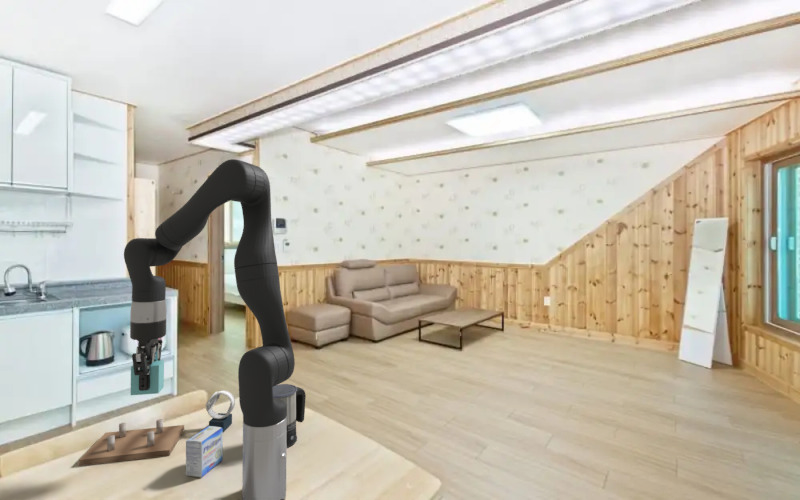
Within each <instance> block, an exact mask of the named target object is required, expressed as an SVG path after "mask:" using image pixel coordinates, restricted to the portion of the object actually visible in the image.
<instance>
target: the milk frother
mask: <svg viewBox="0 0 800 500" xmlns="http://www.w3.org/2000/svg"><path fill="white" fill-rule="evenodd" d="M273 398H279V399H281V400H283V401H285V403H286V405H287V439H286V443H287V449H288V448H290V447H292V446H293V445H295V444H296V442H297V441H298V436H297V422H298V423H303V422H304V421H305V412H306V411H305V409H306V398H307V397H306V391H305V390H304V388H301V387H298V386H296V385H293V384H288V383H283V384H282V383H280V384H278V385H276V386H274V387H273Z"/></svg>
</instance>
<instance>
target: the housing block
mask: <svg viewBox="0 0 800 500" xmlns="http://www.w3.org/2000/svg"><path fill="white" fill-rule="evenodd" d="M147 362H149V361H147ZM142 370H143V368H142ZM164 378H165V360H164V359H163V360H162V359H160V361H154V363H153V364H152V365H151V373H150V388H149V389H148V390H143V391H140V390H139V376H138V375H136V376H135V374H134V367H133V365H131V366H130V396H140V395H141V396H143V395H153V394H154V395H155V394H160V392H161V391H162V390H163V389H164V386H165V379H164Z"/></svg>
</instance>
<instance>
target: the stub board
mask: <svg viewBox="0 0 800 500" xmlns="http://www.w3.org/2000/svg"><path fill="white" fill-rule="evenodd" d="M155 422H156V423H155V427H151V428H149V427H148V428H141V429H139V428H138V429H129V430H127V422H121V423H119V424H118V431H109V432H108V431H107V432H104V434H103V435H102V436H101V437H100V438H99V439H97V441H96V442H95V443H94V444H93V445H92V446H91V447H89V449H88V450H87V451H86V452H85V453H84V454H83V455H82V456H81V457H80V458H79V459H78V466H79V467H81V466H83V467H84V466H89V465H90V466H91V465H98V464H109V463H115V462H116V463H117V462H124V461H134V460H141V459H150V458H160V457H170V456H171V453H173V451H174V449H175V447H176V445H177V443H178V441H179V440H180V438H181V437H182V434H183V433H184V431H185V424H180V425H170V426H164V419H162V418H159V419H157V420H156V421H155Z"/></svg>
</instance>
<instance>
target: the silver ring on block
mask: <svg viewBox="0 0 800 500" xmlns="http://www.w3.org/2000/svg"><path fill="white" fill-rule="evenodd" d="M221 395H223V396H225V397H227V398H228V399H229V402H230V403H229V407H228V409H227V411H226V413H223V412H221V413H219V412H218V413H216V412H215V410H214V409H213V407H214V405H215V404H216V403H218V402H217V401H218V400H219V399H220V396H221ZM235 401H236V399H235V397H234V395H233V394H232V393H231V392H230V391H228V390H225V389H224V390H223V389H222V390H219V391H217V390H216V391H215V392H214V393H212V394H211V396H210V397H209V399H208V400H207V401H206V403H205V407H206V408H205V409H206V411H207V414H208V415H209V416H210V417H211V419H210V420H209V421H208V426H215V427H221V428H223V433H225V431H227V429H228V428H229V427H230V426H232V424H233V413H232V411H233V410H234V408H235V405H236V402H235Z"/></svg>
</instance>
